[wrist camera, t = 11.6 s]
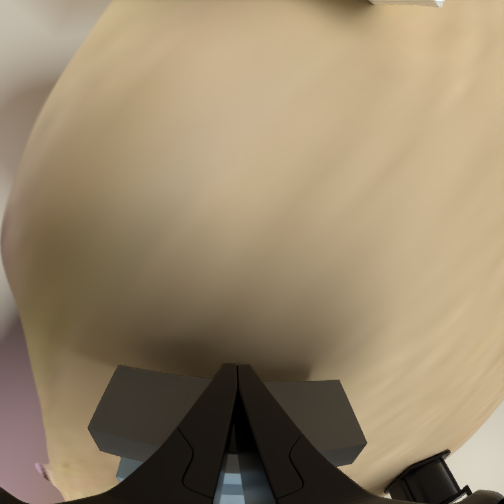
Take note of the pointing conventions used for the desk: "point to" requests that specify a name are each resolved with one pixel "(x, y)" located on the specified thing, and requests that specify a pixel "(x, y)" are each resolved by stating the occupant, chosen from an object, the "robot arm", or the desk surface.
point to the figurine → (410, 2)
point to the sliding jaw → (187, 392)
